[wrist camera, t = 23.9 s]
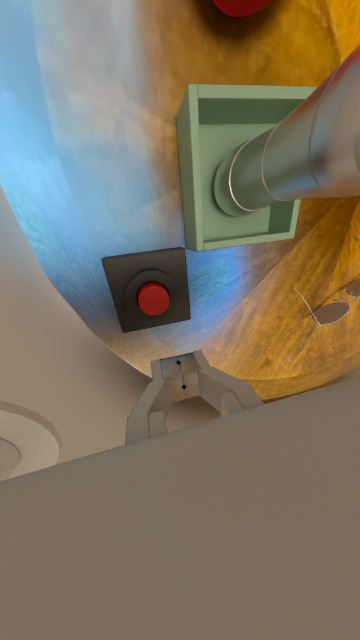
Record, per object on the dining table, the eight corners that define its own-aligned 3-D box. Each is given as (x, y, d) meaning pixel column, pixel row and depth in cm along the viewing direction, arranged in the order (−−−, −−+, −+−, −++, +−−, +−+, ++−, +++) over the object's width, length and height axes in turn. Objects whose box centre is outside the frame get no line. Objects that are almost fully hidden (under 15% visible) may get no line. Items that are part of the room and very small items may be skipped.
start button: (141, 312, 23) (142, 318, 21) (135, 284, 21) (135, 288, 19) (168, 307, 23) (171, 312, 22) (165, 280, 21) (167, 283, 20)
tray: (186, 248, 24) (197, 251, 20) (175, 118, 18) (188, 83, 14) (268, 237, 26) (294, 238, 22) (282, 117, 20) (321, 86, 16)
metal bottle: (203, 159, 20) (823, -504, 2) (258, 147, 20) (1066, -414, 3) (211, 224, 23) (483, 186, 5) (259, 211, 23) (640, 141, 6)
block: (123, 326, 27) (122, 340, 23) (103, 257, 22) (98, 261, 19) (187, 313, 28) (194, 324, 25) (180, 246, 24) (189, 249, 20)
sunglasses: (303, 320, 35) (326, 329, 30) (284, 288, 32) (306, 293, 27) (364, 272, 33) (399, 274, 29) (350, 235, 31) (385, 230, 26)
